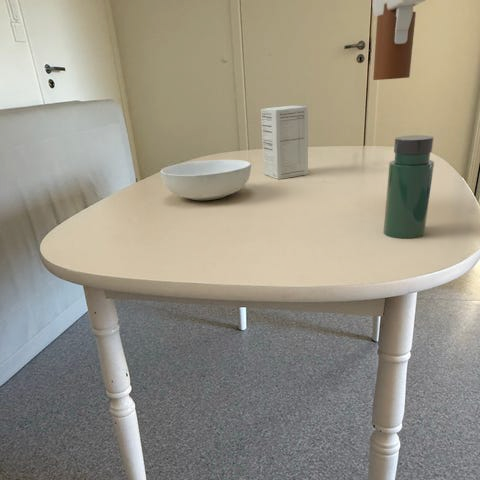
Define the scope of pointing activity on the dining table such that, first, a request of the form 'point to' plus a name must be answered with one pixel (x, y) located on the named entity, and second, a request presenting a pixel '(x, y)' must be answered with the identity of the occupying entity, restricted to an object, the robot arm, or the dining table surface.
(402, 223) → the green bottle
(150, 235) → the dining table surface
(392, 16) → the amber bottle
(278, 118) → the supplement box
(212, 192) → the serving bowl
